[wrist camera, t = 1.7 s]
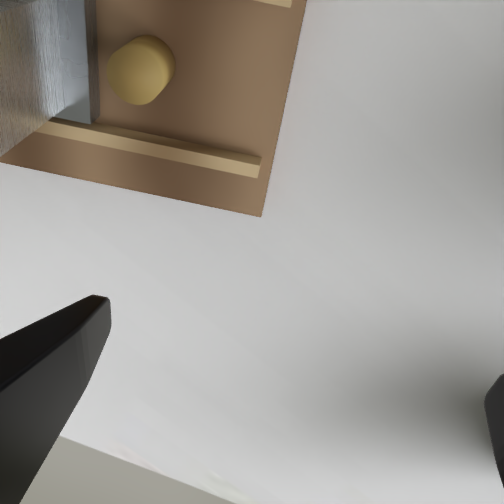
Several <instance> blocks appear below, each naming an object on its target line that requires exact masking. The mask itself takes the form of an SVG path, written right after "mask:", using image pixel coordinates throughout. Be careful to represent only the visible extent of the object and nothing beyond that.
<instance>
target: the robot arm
mask: <svg viewBox="0 0 504 504" xmlns="http://www.w3.org/2000/svg"><path fill="white" fill-rule="evenodd" d="M110 329H111V307H110V300H109V299H108V298H107V297H103V296H98V295H90V296H88V297H86V298H84V299H82V300H80V301H77V302H75V303H73V304H71V305H69V306H67V307H65V308H63V309H61V310H59V311H57V312H55V313H53V314H51V315H49V316H47V317H45V318H42V319H40V320H38V321H36V322H34V323H32V324H30V325H28V326H26V327H24V328H22V329H20V330H18V331H16V332H14V333H12V334H9V335H7V336H5V337H3V338H1V339H0V504H19V503H20V502H21V500H22V498H23V496H24V495H25V493H26V491H27V490H28V488H29V486H30V484H31V483H32V481H33V479H34V477H35V476H36V474H37V472H38V470H39V469H40V467H41V465H42V464H43V462H44V460H45V458H46V457H47V455H48V453H49V451H50V450H51V448H52V446H53V444H54V443H55V441H56V439H57V438H58V436H59V434H60V432H61V431H62V429H63V427H64V426H65V424H66V422H67V420H68V419H69V417H70V415H71V413H72V412H73V410H74V408H75V406H76V405H77V403H78V401H79V400H80V398H81V396H82V394H83V393H84V391H85V389H86V387H87V385H88V383H89V381H90V378H91V376H92V374H93V371H94V369H95V367H96V364H97V362H98V359H99V357H100V355H101V352H102V350H103V347H104V345H105V343H106V340H107V338H108V336H109V333H110ZM484 407H485V412H486V417H487V422H488V427H489V432H490V437H491V442H492V447H493V451H494V456H495V460H496V464H497V468H498V471H499V475H500V478H501V481H502V484H503V487H504V374H502V375H500V377H499V378H498V379H497V380H496V382H495V383H494V384H493V386H492V387H491V389H490V390H489V391H488V393H487V394H486V396H485V400H484Z"/></svg>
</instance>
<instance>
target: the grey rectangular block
mask: <svg viewBox="0 0 504 504" xmlns="http://www.w3.org/2000/svg"><path fill="white" fill-rule="evenodd" d="M99 116H100V93H99V67H98V41H97V15H96V0H0V157H1V156H2V155H3V154H5V153H6V152H7V151H9V150H10V149H11V148H13V147H14V146H15V145H17V144H18V143H19V142H20V141H22V140H23V139H24V138H26V137H27V136H28V135H30V134H31V133H32V132H34V131H35V130H36V129H38V128H39V127H40V126H42V125H43V124H44V123H46V122H47V121H48V120H50V119H51V118H52V117H57V118H62V119H67V120H72V121H76V122H81V123H86V124H92V123H93V122H94V121H95V120H96V119H97V118H98V117H99Z"/></svg>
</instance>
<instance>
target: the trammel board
mask: <svg viewBox="0 0 504 504" xmlns="http://www.w3.org/2000/svg"><path fill="white" fill-rule="evenodd" d="M306 2H307V0H96V15H97V41H98V67H99V93H100V116H99V117H98V118H97V119H96V120H95V121H94V122H93V123H92V124H86V123H81V122H76V121H72V120H67V119H62V118H57V117H52V118H51V119H50V120H48V121H47V122H46V123H44V124H43V125H42V126H40V127H39V128H38V129H36V130H35V131H34V132H32V133H31V134H30V135H28V136H27V137H26V138H24V139H23V140H22V141H20V142H19V143H18V144H17V145H15V146H14V147H13V148H11V149H10V150H9V151H7V152H6V153H5V154H3V155H2V156H1V157H0V162H1V163H6V164H11V165H16V166H20V167H25V168H30V169H35V170H39V171H44V172H49V173H54V174H58V175H63V176H68V177H72V178H77V179H82V180H87V181H91V182H96V183H101V184H106V185H110V186H115V187H120V188H125V189H129V190H134V191H139V192H143V193H148V194H153V195H158V196H162V197H167V198H172V199H177V200H181V201H186V202H191V203H196V204H200V205H205V206H210V207H215V208H219V209H224V210H229V211H233V212H238V213H243V214H248V215H252V216H257V217H261V216H262V211H263V207H264V202H265V197H266V192H267V188H268V183H269V178H270V173H271V169H272V164H273V159H274V154H275V149H276V145H277V140H278V135H279V130H280V126H281V121H282V116H283V111H284V107H285V102H286V97H287V92H288V88H289V83H290V78H291V73H292V69H293V64H294V59H295V54H296V50H297V45H298V40H299V35H300V31H301V26H302V21H303V16H304V12H305V7H306Z"/></svg>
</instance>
